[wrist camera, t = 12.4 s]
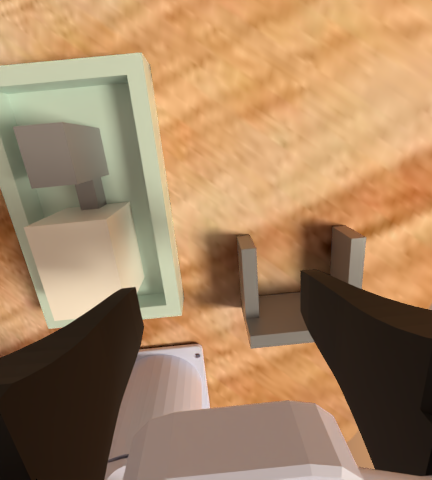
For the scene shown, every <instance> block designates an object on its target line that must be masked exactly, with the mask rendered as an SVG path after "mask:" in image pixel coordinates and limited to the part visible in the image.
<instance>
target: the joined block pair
mask: <svg viewBox="0 0 432 480" xmlns="http://www.w3.org/2000/svg"><path fill="white" fill-rule="evenodd" d="M13 129H14V133H15V136H16V139H17V142H18V146H19V149H20V152H21V155H22V159H23V162H24V165H25V168H26V172H27V175H28V178H29V182H30V185H31V188H32V189H34V188H44V187H54V186H64V185H75V188H76V192H77V196H78V200H79V204H80V207H71V208H66V209H63V210H61V211H59V212H57V213H54V214H52V215H50V216H48V217H46V218H43V219H41V220H39V221H37V222H35V223H32V224H30V225H28V226H26V227H24V230H25V233H26V236H27V239H28V242H29V245H30V248H31V251H32V254H33V257H34V260H35V263H36V266H37V270H38V273H39V276H40V279H41V282H42V285H43V288H44V291H45V294H46V297H47V300H48V303H49V306H50V309H51V312H52V315H53V318H54V321H60V320H70V319H77V318H79V317H80V316H82V315H83V314H85V313H86V312H88V311H89V310H91V309H92V308H93V307H95V306H96V305H98V304H99V303H100V302H102V301H103V300H105V299H106V298H107V297H109V296H110V295H112V294H113V293H115V292H116V291H118V290H120V289H122V288H131V287H136V291H137V292H138V290H139V288H140V286H141V284H142V281H143V279H144V272H143V267H142V262H141V257H140V252H139V246H138V241H137V236H136V231H135V226H134V221H133V215H132V210H131V205H130V202H122V203H112V204H107V203H106V198H105V194H104V189H103V185H102V180H101V177H103V176H106V175H109V172H108V167H107V162H106V157H105V153H104V148H103V143H102V139H101V134H100V129H99V128H96V127H90V126H83V125H77V124H71V123H65V122H57V123H46V124H36V125H25V126H15V127H13Z"/></svg>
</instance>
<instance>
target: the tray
mask: <svg viewBox="0 0 432 480" xmlns="http://www.w3.org/2000/svg"><path fill="white" fill-rule="evenodd" d="M57 122H65V123H71V124H77V125H83V126H90V127H96V128H99V129H100V134H101V139H102V143H103V148H104V153H105V157H106V162H107V167H108V172H109V175H106V176H103V177H101V180H102V185H103V189H104V194H105V198H106V203H107V204H112V203H122V202H130V205H131V210H132V215H133V221H134V226H135V231H136V236H137V241H138V246H139V252H140V257H141V262H142V267H143V272H144V279H143V281H142V284H141V286H140V288H139V290H138V292H137V296H138V301H139V306H140V310H141V315H142V319H152V318H162V317H172V316H182V309H183V302H184V294H183V288H182V281H181V274H180V267H179V260H178V253H177V246H176V240H175V233H174V226H173V219H172V212H171V205H170V199H169V192H168V185H167V178H166V171H165V164H164V157H163V151H162V144H161V137H160V130H159V123H158V116H157V110H156V103H155V96H154V89H153V82H152V75H151V69H150V64H149V63H148V61H147V60H146V58H145V57H144V55H143V54H142V53H131V54H120V55H109V56H99V57H88V58H77V59H67V60H56V61H45V62H35V63H24V64H13V65H3V66H0V188H1V191H2V194H3V197H4V200H5V203H6V206H7V209H8V212H9V214H10V217H11V220H12V223H13V226H14V229H15V232H16V235H17V238H18V241H19V244H20V247H21V250H22V253H23V255H24V258H25V261H26V264H27V267H28V270H29V273H30V276H31V279H32V282H33V285H34V288H35V291H36V294H37V296H38V299H39V302H40V305H41V308H42V311H43V314H44V317H45V320H46V323H47V326H48V329H51V328H61V327H64V326H66V325H68V324H69V323H71V322H72V321H74V320H75V319H70V320H60V321H54V318H53V315H52V312H51V309H50V306H49V303H48V300H47V297H46V294H45V291H44V288H43V285H42V282H41V279H40V276H39V273H38V270H37V266H36V263H35V260H34V257H33V254H32V251H31V248H30V245H29V242H28V239H27V236H26V233H25V230H24V227H26V226H28V225H30V224H32V223H35V222H37V221H39V220H41V219H43V218H46V217H48V216H50V215H52V214H54V213H57V212H59V211H61V210H63V209H66V208H71V207H80V204H79V200H78V196H77V192H76V188H75V185H64V186H54V187H44V188H34V189H32V188H31V185H30V182H29V178H28V175H27V172H26V168H25V165H24V162H23V159H22V155H21V152H20V149H19V146H18V142H17V139H16V136H15V133H14V129H13V127H15V126H25V125H36V124H46V123H57Z"/></svg>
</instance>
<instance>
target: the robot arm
mask: <svg viewBox="0 0 432 480" xmlns="http://www.w3.org/2000/svg"><path fill="white" fill-rule="evenodd" d="M300 312H301V314H302V317H303V319H304V322H305V324H306V327H307V329H308V331H309V333H310V335H311V337H312V338H313V340H314V342H315V343H316V345H317V347H318V349H319V350H320V352H321V354H322V355H323V357H324V359H325V361H326V362H327V364H328V366H329V367H330V369H331V371H332V372H333V374H334V376H335V378H336V380H337V382H338V384H339V386H340V388H341V390H342V392H343V394H344V396H345V399H346V401H347V403H348V405H349V407H350V410H351V412H352V414H353V417H354V419H355V421H356V424H357V426H358V428H359V431H360V433H361V435H362V438H363V440H364V443H365V445H366V447H367V450H368V453H369V455H370V458H371V460H372V463H373V465H374V468H375V469H369V468H361V467H357V465H356V463H355V461H354V458H353V456H352V454H351V452H350V450H349V448H348V446H347V444H346V441H345V439H344V437H343V435H342V433H341V431H340V429H339V427H338V425H337V422H336V420H335V418H334V416H333V415H331V414H330V413H328V412H327V411H326V410H324V409H323V408H321V407H320V406H318V405H317V404H315V403H309V402H299V401H289V400H286V401H276V402H266V403H256V404H247V405H237V406H227V407H217V408H210V403H209V395H208V388H207V380H206V372H205V365H204V357H203V349H202V346H201V345H200V344H189V345H179V346H169V347H159V348H149V349H140V345H141V340H142V335H143V329H144V325H143V320H142V315H141V310H140V306H139V301H138V296H137V291H136V287H131V288H122V289H120V290H118V291H116V292H115V293H113V294H112V295H110V296H109V297H107V298H106V299H105V300H103V301H102V302H100V303H99V304H98V305H96V306H95V307H93V308H92V309H91V310H89V311H88V312H86V313H85V314H83V315H82V316H80V317H79V318H77V319H75V320H74V321H72V322H71V323H69V324H68V325H66V326H64V327H63V328H61V329H59V330H58V331H56V332H54V333H52V334H50V335H48V336H47V337H45V338H43V339H41V340H39V341H37V342H35V343H33V344H30V345H28V346H26V347H24V348H22V349H20V350H18V351H15V352H13V353H11V354H9V355H6V356H4V357H1V358H0V480H432V310H428V309H424V308H419V307H415V306H411V305H407V304H404V303H400V302H397V301H394V300H391V299H387V298H384V297H381V296H378V295H376V294H373V293H370V292H368V291H365V290H363V289H360V288H358V287H355V286H353V285H351V284H348V283H346V282H344V281H342V280H339V279H337V278H335V277H333V276H331V275H328V274H326V273H324V272H321V271H319V270H315V269H313V270H303V271H301V293H300ZM196 353H198V354H199V355H196Z"/></svg>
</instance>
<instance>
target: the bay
mask: <svg viewBox="0 0 432 480" xmlns="http://www.w3.org/2000/svg"><path fill="white" fill-rule="evenodd" d="M365 245H366V237H365V236H363V235H361V234H359V233H358V232H356V231H354V230H352V229H351V228H349V227H347V226H345V225H343V226H333V227H332V244H331V265H330V275H331V276H333V277H335V278H337V279H339V280H342V281H344V282H346V283H348V284H351V285H353V286H355V287H358V288H360V289H362V278H363V267H364V256H365ZM237 248H238V262H239V277H240V291H241V305H242V312H243V316H244V320H245V325H246V329H247V334H248V338H249V343H250V347H251V348H261V347H271V346H281V345H291V344H301V343H311V342H314V340H313V338H312V337H311V335H310V333H309V331H308V329H307V327H306V324H305V322H304V319H303V317H302V314H301V312H300V293H301V292H294V293H284V294H274V295H264V296H258V277H257V256H256V247H255V245H254V243H253V241H252V239H251V237H250V235H241V236H237Z"/></svg>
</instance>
